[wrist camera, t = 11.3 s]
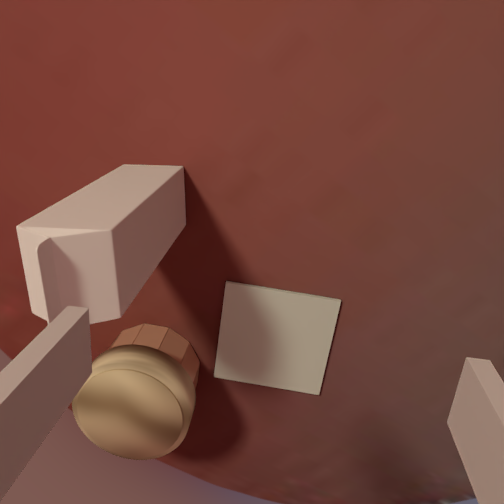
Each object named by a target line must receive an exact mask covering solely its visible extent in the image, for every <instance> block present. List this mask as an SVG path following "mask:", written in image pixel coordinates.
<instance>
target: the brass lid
mask: <svg viewBox="0 0 504 504" xmlns="http://www.w3.org/2000/svg"><path fill="white" fill-rule="evenodd" d="M195 404H196V392H195V387H194V384H193V382H192V379H191V377H190V376H189V374H188V373H187V371H186V370H185V369H184V367H183V366H182V365H181V364H180V363H179V362H178V361H176V360H175V359H174V358H172V357H171V356H170V355H168V354H166V353H164V352H162V351H160V350H158V349H155V348H152V347H149V346H144V345H136V344H128V345H120V346H116V347H113V348H111V349H108V350H106V351H105V352H103V353H101V354H100V355H99V356H98V357H97V358H96V359H95V360H94V361H93V362H92V374H91V375H90V376H89V378H88V379H87V381H86V382H85V383H84V385H83V386H82V388H81V389H80V390H79V392H78V393H77V395H76V396H75V397H74V399H73V400H72V408H73V413H74V417H75V419H76V422H77V423H78V425H79V427H80V429H81V430H82V432H83V433H84V434H85V435H86V436H87V437H88V438H89V439H90V440H91V441H92V442H93V443H94V444H95V445H97V446H98V447H100V448H101V449H103V450H105V451H107V452H109V453H111V454H113V455H116V456H119V457H123V458H128V459H134V460H147V459H154V458H158V457H161V456H164V455H166V454H168V453H170V452H172V451H173V450H175V449H176V448H177V447H178V446H179V445H180V444H181V442H182V441H183V440H184V438H185V436H186V434H187V431H188V428H189V425H190V422H191V418H192V415H193V412H194V409H195Z"/></svg>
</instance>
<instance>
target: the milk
mask: <svg viewBox="0 0 504 504" xmlns="http://www.w3.org/2000/svg"><path fill="white" fill-rule="evenodd" d="M185 226H186V209H185V186H184V167H183V166H162V165H126V164H124V165H122V166H120V167H118V168H117V169H115V170H113V171H112V172H110V173H108V174H106V175H105V176H103V177H101V178H99V179H98V180H96V181H94V182H92V183H91V184H89V185H87V186H85V187H84V188H82V189H80V190H78V191H77V192H75V193H73V194H71V195H70V196H68V197H66V198H64V199H63V200H61V201H59V202H57V203H56V204H54V205H52V206H50V207H49V208H47V209H45V210H43V211H42V212H40V213H38V214H36V215H35V216H33V217H31V218H29V219H28V220H26V221H24V222H23V223H21V224H19V225H17V226H16V229H17V234H18V239H19V245H20V250H21V256H22V261H23V266H24V272H25V277H26V283H27V288H28V293H29V299H30V304H31V309H32V313H33V314H35V315H37V316H39V317H41V318H43V319H45V320H46V321H47V323H48V325H49V324H50V323H51V322H52V321H53V320H54V319H55V318H56V317H57V316H58V315H59V314H60V313H61V312H62V311H63V310H64V309H65V308H66V307H67V306H75V307H83V308H89V322H90V324H94V323H98V322H103V321H108V320H113V319H118V318H121V317H122V315H123V314H124V312H125V311H126V309H127V308H128V307H129V305H130V304H131V302H132V301H133V300H134V298H135V297H136V295H137V294H138V292H139V291H140V290H141V288H142V287H143V285H144V284H145V282H146V281H147V280H148V278H149V277H150V275H151V274H152V273H153V271H154V270H155V268H156V267H157V265H158V264H159V263H160V261H161V260H162V258H163V257H164V255H165V254H166V253H167V251H168V250H169V248H170V247H171V245H172V244H173V243H174V241H175V240H176V238H177V237H178V236H179V234H180V233H181V231H182V230H183V228H184V227H185Z"/></svg>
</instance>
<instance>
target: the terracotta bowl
mask: <svg viewBox="0 0 504 504" xmlns="http://www.w3.org/2000/svg"><path fill="white" fill-rule="evenodd" d="M128 344H136V345H144V346H149V347H152V348H155V349H158V350H160V351H162V352H164V353H166V354H168V355H170V356H171V357H172V358H174V359H175V360H176V361H178V362H179V363H180V364H181V365H182V366H183V367H184V369H185V370H186V371H187V373H188V374H189V376H190V377H191V379H192V382H193V384H194V387H195V389H196V386H197V383H198V375H199V366H200V361H199V359H198V357H197V355H196V354H195V352H194V350H193V348H192V346H191V344H190V342H189V341H187V340H186V339H185V338H183V337H182V336H180V335H179V334H177V333H176V332H175V331H173V330H172V329H170V328H168V327H162V326H156V325H150V324H141V325H138V326H135V327H132V328H129V329H126V330H123V331H122V332H121V333H120V335H119V336H118V337H117V338H116V340H115V341H114V342H113V344H112V345H111V346H110V348H109V349H111V348H113V347H116V346H120V345H128Z"/></svg>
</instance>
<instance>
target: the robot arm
mask: <svg viewBox="0 0 504 504" xmlns="http://www.w3.org/2000/svg"><path fill="white" fill-rule="evenodd" d="M91 374H92V359H91V340H90V322H89V308H83V307H75V306H67V307H66V308H65V309H64V310H63V311H62V312H61V313H60V314H59V315H58V316H57V317H56V318H55V319H54V320H53V321H52V322H51V323H50V324H49V325H48V326H47V327H46V328H45V329H44V330H43V331H42V332H41V333H40V334H39V335H38V336H37V337H36V338H35V339H34V340H33V341H32V342H31V343H30V344H29V345H28V346H27V347H25V348H24V349H23V350H22V351H21V352H20V353H19V354H18V355H17V356H16V357H15V358H14V359H13V360H12V361H11V363H9V364H8V365H7V366H6V367H5V368H4V369H3V370H2V371H1V372H0V501H1V500H2V498H3V497H4V496H5V494H6V493H7V491H8V490H9V489H10V487H11V486H12V484H13V483H14V482H15V480H16V479H17V477H18V476H19V475H20V473H21V472H22V470H23V469H24V468H25V466H26V465H27V463H28V462H29V460H30V459H31V458H32V456H33V455H34V453H35V452H36V451H37V449H38V448H39V447H40V445H41V444H42V442H43V441H44V439H45V438H46V437H47V435H48V434H49V432H50V431H51V430H52V428H53V427H54V425H55V424H56V423H57V421H58V420H59V418H60V417H61V416H62V414H63V413H64V411H65V410H66V409H67V407H68V406H69V404H70V403H71V402H72V400H73V399H74V397H75V396H76V395H77V393H78V392H79V390H80V389H81V388H82V386H83V385H84V383H85V382H86V381H87V379H88V378H89V376H90V375H91ZM447 423H448V426H449V429H450V431H451V434H452V436H453V439H454V441H455V444H456V447H457V449H458V452H459V454H460V457H461V459H462V462H463V465H464V467H465V470H466V472H467V475H468V477H469V480H470V483H471V485H472V488H473V490H474V493H475V495H476V498H477V501H478V503H479V504H504V382H503V381H502V379H501V378H500V376H499V374H498V373H497V371H496V370H495V368H494V366H493V365H492V363H491V361H490V360H484V359H476V358H469V357H466V360H465V363H464V367H463V370H462V373H461V377H460V380H459V384H458V387H457V390H456V394H455V397H454V401H453V404H452V407H451V411H450V414H449V417H448V421H447Z"/></svg>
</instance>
